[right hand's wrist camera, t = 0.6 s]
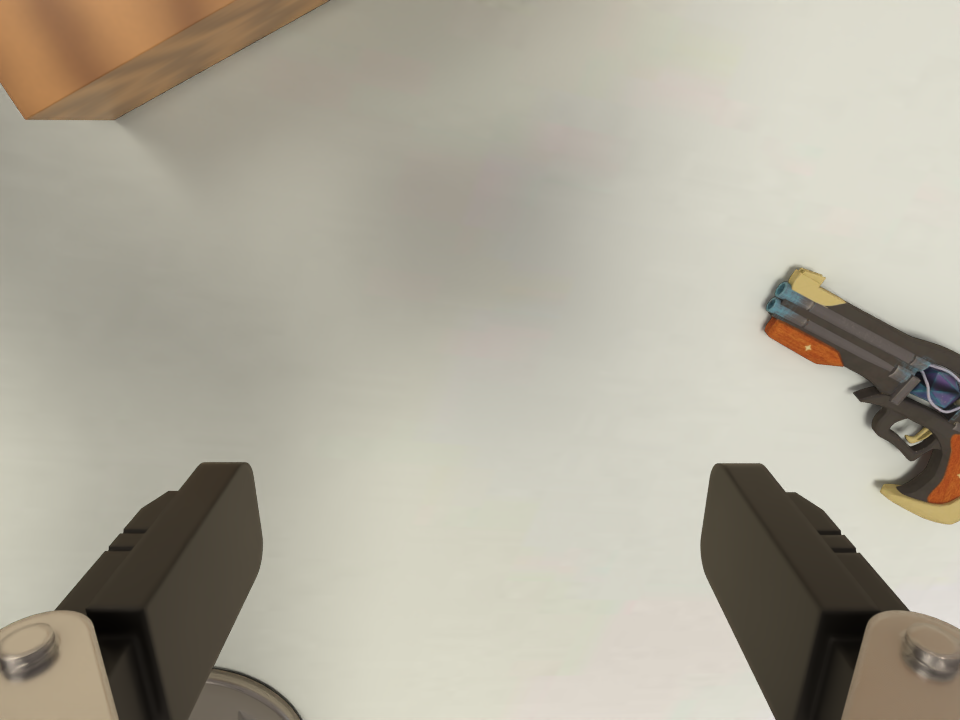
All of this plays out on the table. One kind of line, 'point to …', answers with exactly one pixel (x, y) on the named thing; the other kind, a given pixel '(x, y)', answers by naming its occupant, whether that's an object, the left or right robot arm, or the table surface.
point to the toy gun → (883, 383)
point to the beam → (121, 49)
